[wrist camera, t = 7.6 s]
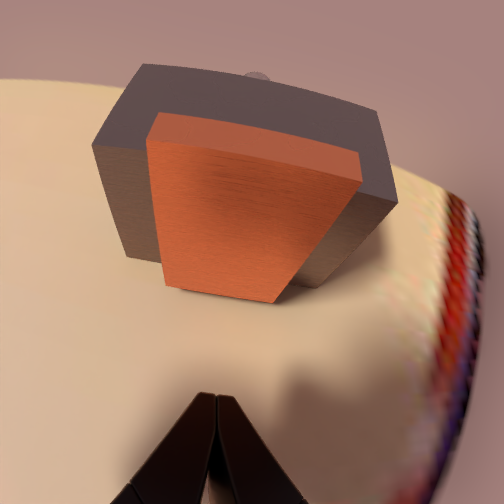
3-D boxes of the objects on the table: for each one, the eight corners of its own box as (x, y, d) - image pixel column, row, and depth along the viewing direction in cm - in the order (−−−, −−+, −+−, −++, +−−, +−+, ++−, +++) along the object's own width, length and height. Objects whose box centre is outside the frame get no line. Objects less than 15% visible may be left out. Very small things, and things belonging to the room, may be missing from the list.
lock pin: (272, 302, 15) (362, 181, 7) (165, 285, 14) (146, 139, 7) (284, 120, 21) (323, 7, 13) (212, 106, 20) (231, -13, 13)
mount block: (316, 288, 17) (398, 202, 10) (126, 256, 16) (91, 144, 9) (316, 210, 19) (376, 111, 12) (150, 180, 18) (142, 63, 11)
